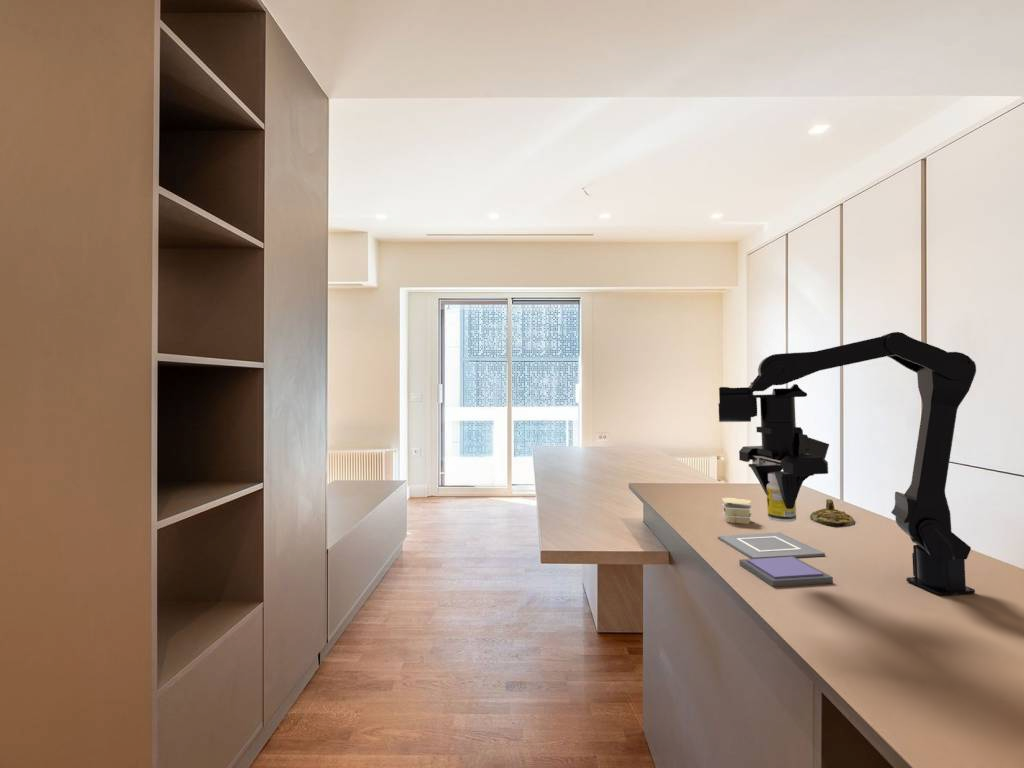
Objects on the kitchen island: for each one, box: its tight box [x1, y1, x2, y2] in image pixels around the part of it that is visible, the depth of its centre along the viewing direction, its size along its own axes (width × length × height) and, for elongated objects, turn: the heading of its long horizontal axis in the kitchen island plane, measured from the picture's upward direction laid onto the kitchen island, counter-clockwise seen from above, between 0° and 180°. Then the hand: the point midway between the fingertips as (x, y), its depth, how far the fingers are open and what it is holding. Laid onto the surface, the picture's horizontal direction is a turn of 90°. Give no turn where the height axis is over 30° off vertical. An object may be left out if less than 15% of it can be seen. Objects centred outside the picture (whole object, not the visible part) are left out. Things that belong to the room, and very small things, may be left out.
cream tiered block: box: [721, 497, 752, 525], centre depth 129 cm, size 10×9×6 cm
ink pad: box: [738, 556, 834, 588], centre depth 92 cm, size 11×11×1 cm
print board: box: [717, 531, 826, 559], centre depth 108 cm, size 15×15×1 cm
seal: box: [809, 498, 855, 527], centre depth 127 cm, size 9×5×15 cm
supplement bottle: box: [766, 472, 797, 523], centre depth 93 cm, size 5×5×8 cm
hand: (781, 505), depth 93 cm, fingers closed on supplement bottle, 5 cm apart
